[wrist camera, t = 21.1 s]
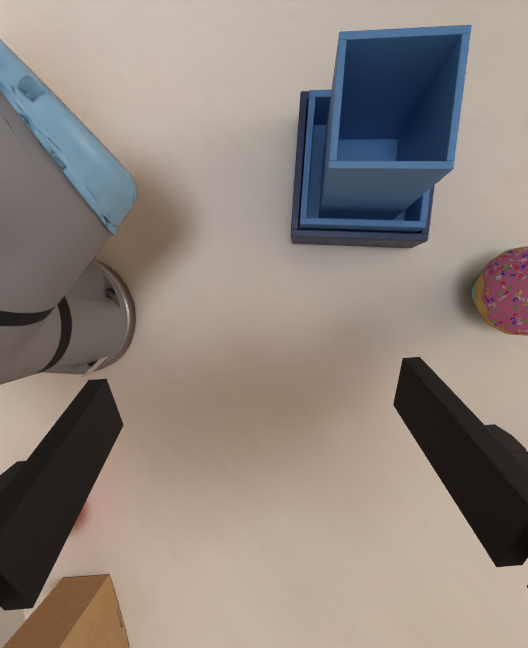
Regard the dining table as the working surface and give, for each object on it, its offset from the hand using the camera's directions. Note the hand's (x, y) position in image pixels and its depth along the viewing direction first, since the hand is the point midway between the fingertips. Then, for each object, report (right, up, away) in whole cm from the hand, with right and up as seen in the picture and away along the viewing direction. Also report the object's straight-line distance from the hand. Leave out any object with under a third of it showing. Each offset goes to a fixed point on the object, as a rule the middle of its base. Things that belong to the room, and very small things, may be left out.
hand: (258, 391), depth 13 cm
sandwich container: (-25, -42, +31) cm, 58 cm away
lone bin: (+11, +19, +18) cm, 29 cm away
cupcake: (+26, +7, +19) cm, 33 cm away
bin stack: (+11, +19, +20) cm, 30 cm away
